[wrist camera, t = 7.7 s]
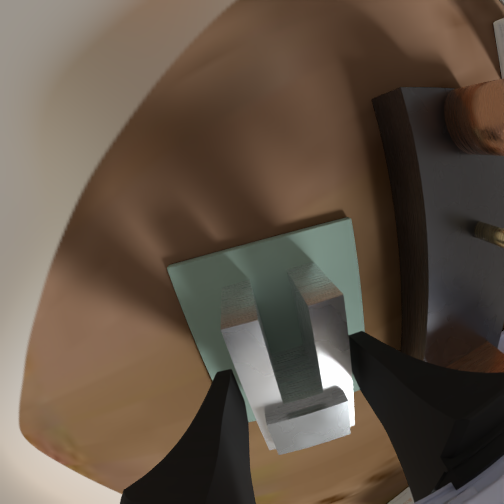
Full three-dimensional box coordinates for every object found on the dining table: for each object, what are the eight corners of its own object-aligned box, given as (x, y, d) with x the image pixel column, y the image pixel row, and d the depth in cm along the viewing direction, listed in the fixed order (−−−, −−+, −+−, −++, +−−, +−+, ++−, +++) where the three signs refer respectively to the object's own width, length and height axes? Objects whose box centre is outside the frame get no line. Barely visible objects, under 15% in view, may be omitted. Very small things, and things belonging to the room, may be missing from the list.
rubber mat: (364, 383, 15) (366, 387, 15) (233, 420, 15) (233, 424, 15) (347, 217, 12) (351, 218, 12) (168, 265, 12) (166, 268, 12)
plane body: (475, 338, 15) (534, 389, 9) (399, 379, 15) (454, 454, 9) (467, 98, 11) (562, 86, 4) (371, 99, 11) (483, 58, 4)
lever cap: (332, 380, 14) (358, 433, 10) (261, 400, 14) (271, 460, 10) (313, 261, 12) (350, 302, 8) (221, 286, 12) (220, 340, 8)
